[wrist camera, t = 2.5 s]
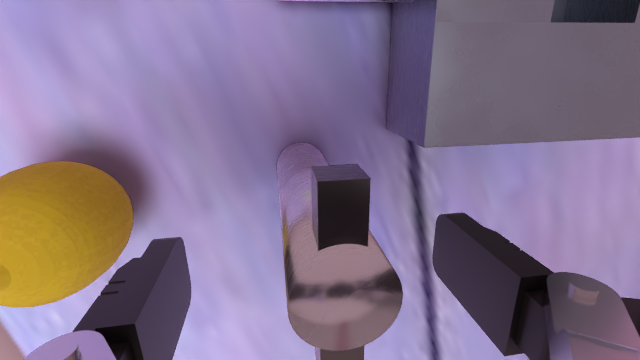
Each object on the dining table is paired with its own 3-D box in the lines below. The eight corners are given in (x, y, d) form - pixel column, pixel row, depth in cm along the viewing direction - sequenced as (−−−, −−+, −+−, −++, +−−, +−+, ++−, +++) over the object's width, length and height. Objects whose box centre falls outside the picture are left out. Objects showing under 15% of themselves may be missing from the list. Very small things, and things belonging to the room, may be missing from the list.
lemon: (138, 138, 17) (39, 190, 10) (165, 231, 19) (99, 335, 12) (25, 152, 17) (-171, 219, 9) (64, 247, 19) (-74, 366, 11)
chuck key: (324, 113, 18) (411, 181, 7) (325, 211, 20) (395, 389, 9) (273, 114, 18) (280, 189, 7) (279, 215, 20) (292, 404, 9)
